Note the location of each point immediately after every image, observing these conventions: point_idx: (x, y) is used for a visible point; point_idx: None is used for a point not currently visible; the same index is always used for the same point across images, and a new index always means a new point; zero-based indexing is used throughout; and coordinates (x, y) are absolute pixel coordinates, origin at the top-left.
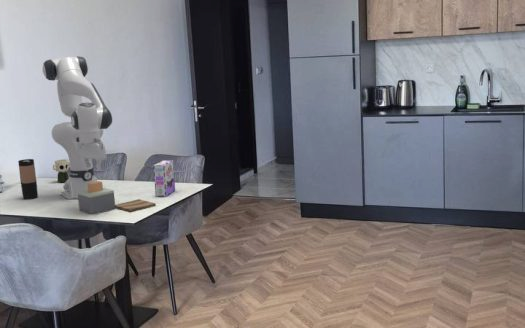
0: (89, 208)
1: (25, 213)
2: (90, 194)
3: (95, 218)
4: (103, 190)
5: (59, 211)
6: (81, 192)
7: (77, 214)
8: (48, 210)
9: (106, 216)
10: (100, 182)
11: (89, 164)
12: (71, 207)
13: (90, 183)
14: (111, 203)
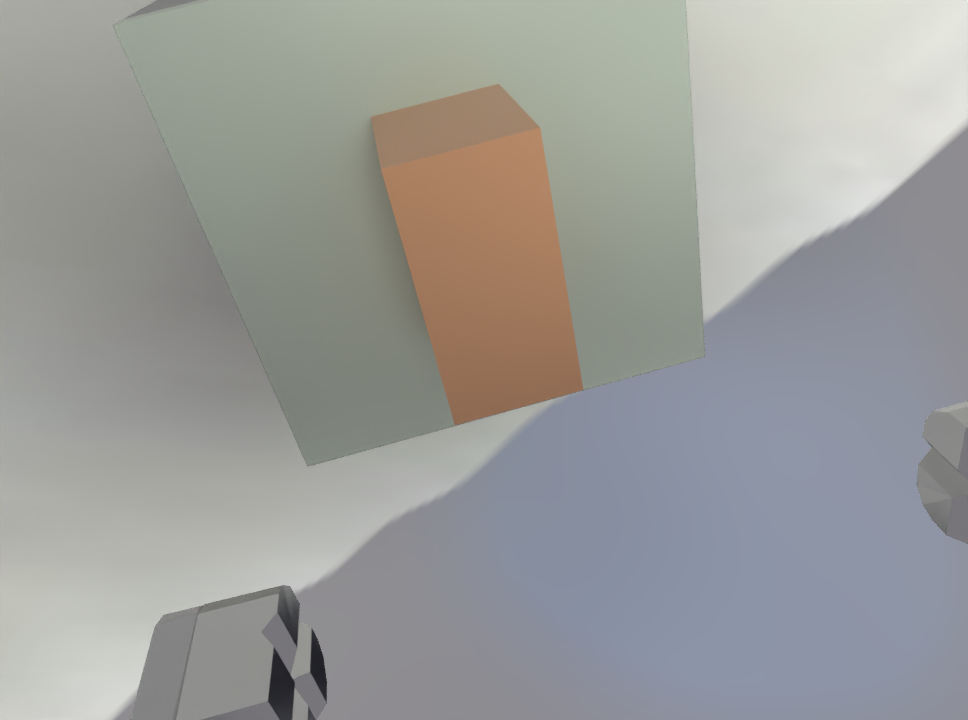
0: None
1: (105, 710)
2: (648, 342)
3: (777, 246)
4: (521, 79)
5: (211, 489)
6: (398, 425)
7: None
8: (92, 567)
9: (806, 125)
10: (545, 172)
11: (296, 695)
12: (75, 368)
13: (501, 375)
14: None
